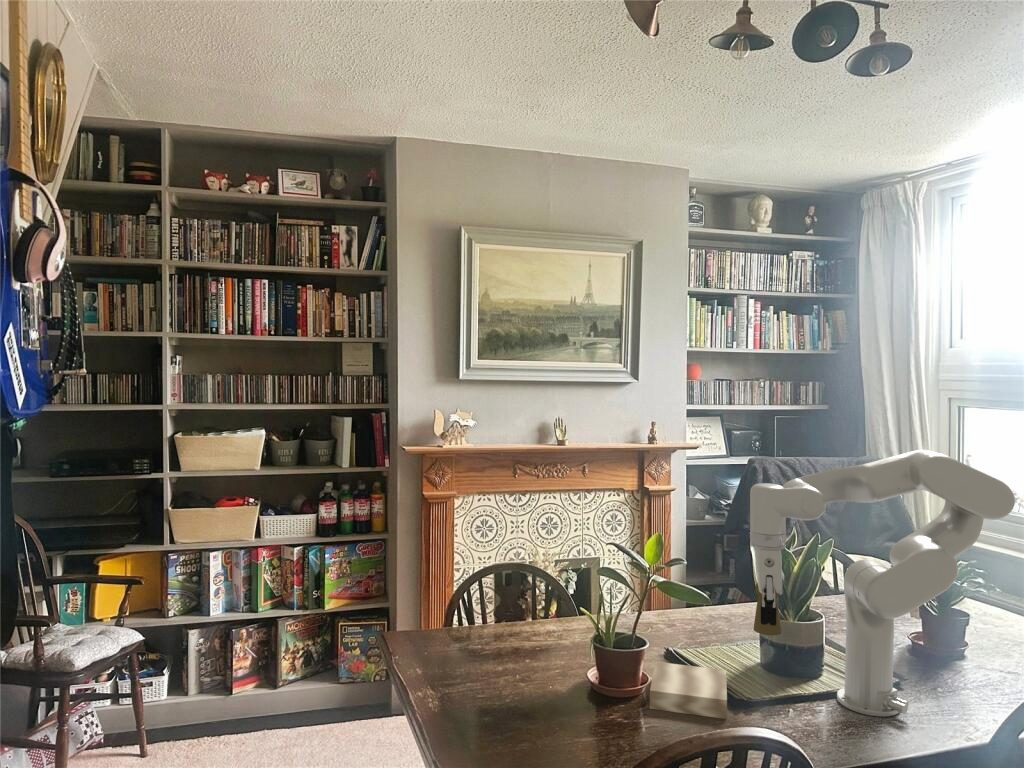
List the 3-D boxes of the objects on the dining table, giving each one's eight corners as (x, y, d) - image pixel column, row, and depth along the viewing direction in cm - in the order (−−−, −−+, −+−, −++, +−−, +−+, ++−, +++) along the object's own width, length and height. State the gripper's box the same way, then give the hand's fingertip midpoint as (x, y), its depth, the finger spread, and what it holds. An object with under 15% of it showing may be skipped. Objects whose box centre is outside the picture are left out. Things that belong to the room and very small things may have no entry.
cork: (784, 636, 159) (784, 586, 159) (755, 634, 161) (755, 584, 160) (779, 626, 165) (779, 578, 165) (751, 624, 167) (751, 577, 166)
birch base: (725, 687, 169) (726, 670, 169) (726, 719, 153) (727, 700, 153) (655, 678, 173) (655, 661, 173) (649, 708, 158) (649, 690, 157)
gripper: (789, 549, 154) (789, 635, 154) (782, 532, 170) (782, 610, 170) (751, 547, 156) (751, 632, 156) (748, 530, 172) (748, 607, 172)
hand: (767, 619), depth 163 cm, fingers closed on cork, 4 cm apart
